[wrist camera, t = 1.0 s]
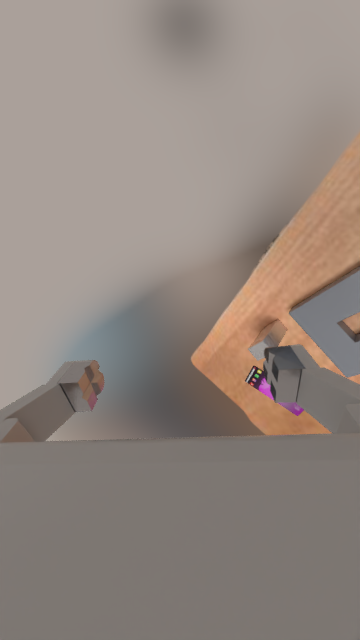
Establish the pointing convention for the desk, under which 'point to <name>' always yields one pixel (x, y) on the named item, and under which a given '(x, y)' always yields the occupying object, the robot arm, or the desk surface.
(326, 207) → the desk surface
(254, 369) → the smartphone
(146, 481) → the robot arm
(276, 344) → the grey square post
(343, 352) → the block
